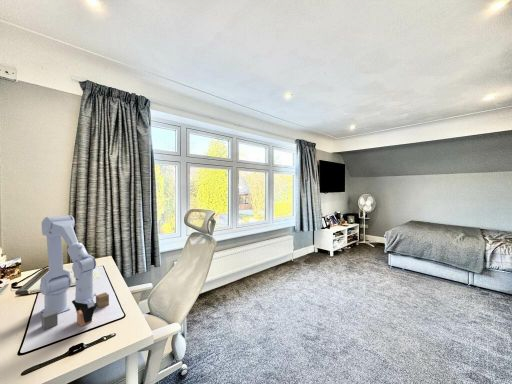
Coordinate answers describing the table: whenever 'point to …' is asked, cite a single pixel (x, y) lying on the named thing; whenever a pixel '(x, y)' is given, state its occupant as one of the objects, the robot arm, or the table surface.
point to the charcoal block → (49, 319)
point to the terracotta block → (81, 318)
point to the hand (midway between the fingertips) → (84, 318)
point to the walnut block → (102, 300)
